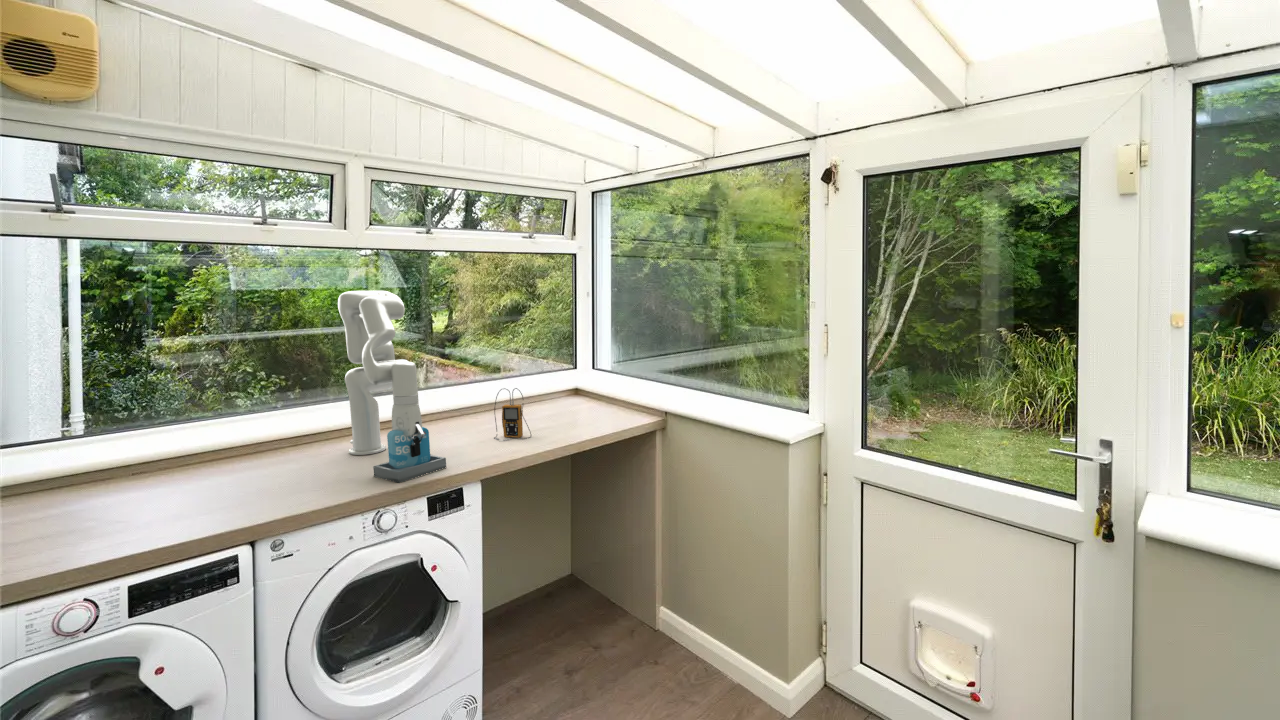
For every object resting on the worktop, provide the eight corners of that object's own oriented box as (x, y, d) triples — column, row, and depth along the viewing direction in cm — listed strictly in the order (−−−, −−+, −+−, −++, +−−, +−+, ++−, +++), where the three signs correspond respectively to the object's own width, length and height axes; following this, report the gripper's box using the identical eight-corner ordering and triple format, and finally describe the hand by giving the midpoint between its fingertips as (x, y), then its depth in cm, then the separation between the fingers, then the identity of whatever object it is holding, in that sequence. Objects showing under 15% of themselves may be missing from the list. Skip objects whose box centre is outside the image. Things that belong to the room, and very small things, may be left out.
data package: (394, 470, 189) (391, 433, 187) (389, 467, 192) (386, 431, 191) (431, 462, 197) (428, 427, 195) (425, 459, 200) (423, 425, 199)
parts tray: (374, 476, 191) (373, 466, 190) (421, 462, 206) (420, 452, 205) (399, 483, 184) (398, 472, 183) (446, 467, 199) (445, 457, 198)
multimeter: (487, 442, 233) (484, 391, 230) (497, 435, 242) (495, 387, 240) (523, 442, 230) (521, 392, 228) (532, 436, 240) (529, 387, 238)
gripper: (379, 400, 193) (383, 454, 196) (412, 404, 184) (416, 461, 186) (399, 396, 200) (403, 448, 202) (432, 400, 190) (436, 455, 192)
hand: (409, 454), depth 194 cm, fingers closed on data package, 5 cm apart
